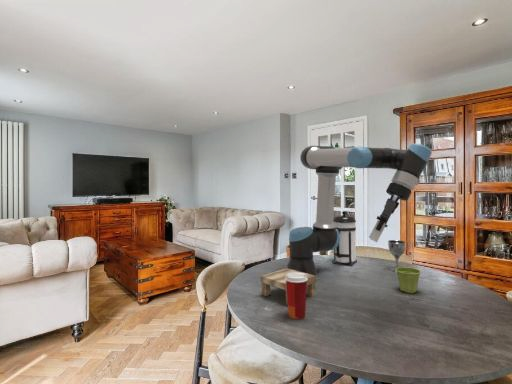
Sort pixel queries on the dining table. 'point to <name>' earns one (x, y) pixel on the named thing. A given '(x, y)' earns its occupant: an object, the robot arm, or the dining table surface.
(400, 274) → the plant pot
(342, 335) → the dining table surface
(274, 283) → the wooden step stool
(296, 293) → the paper cup
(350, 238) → the coffee press
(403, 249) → the wine glass
